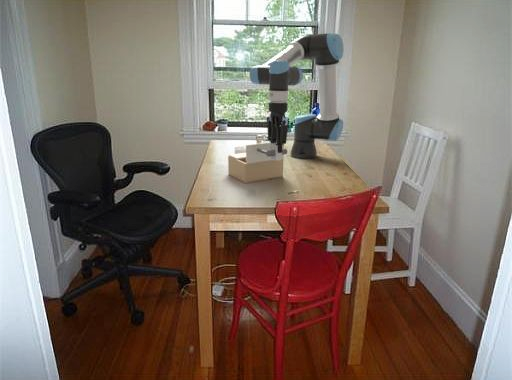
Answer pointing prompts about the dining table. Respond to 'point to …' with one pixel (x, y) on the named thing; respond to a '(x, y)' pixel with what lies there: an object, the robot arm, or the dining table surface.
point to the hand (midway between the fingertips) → (276, 159)
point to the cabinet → (253, 169)
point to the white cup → (240, 149)
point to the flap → (261, 152)
